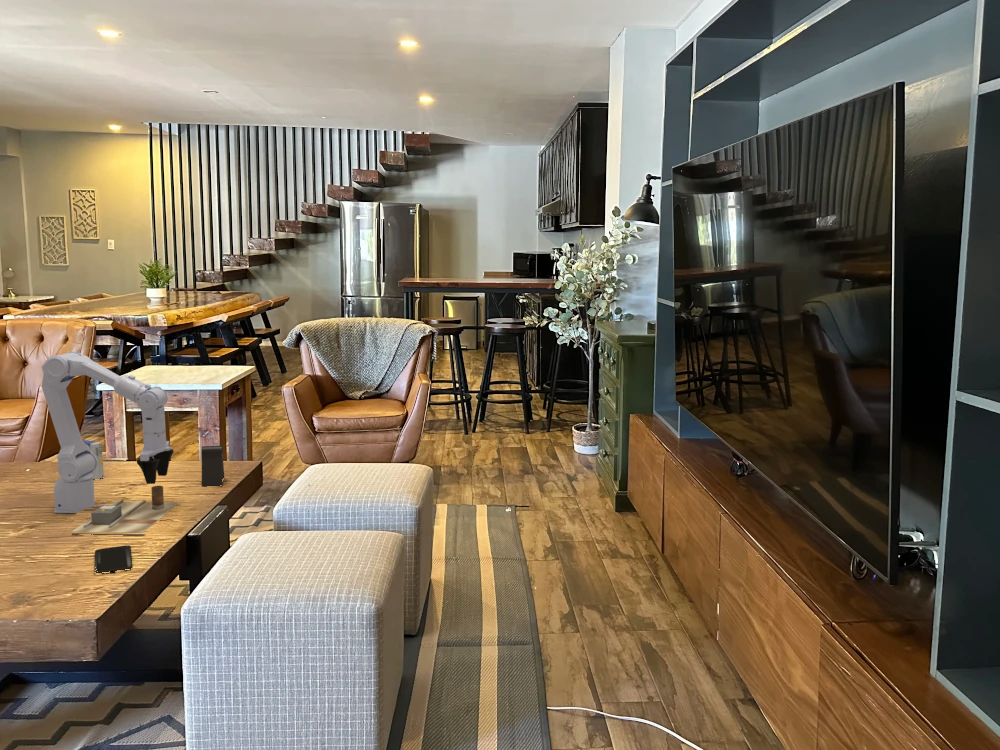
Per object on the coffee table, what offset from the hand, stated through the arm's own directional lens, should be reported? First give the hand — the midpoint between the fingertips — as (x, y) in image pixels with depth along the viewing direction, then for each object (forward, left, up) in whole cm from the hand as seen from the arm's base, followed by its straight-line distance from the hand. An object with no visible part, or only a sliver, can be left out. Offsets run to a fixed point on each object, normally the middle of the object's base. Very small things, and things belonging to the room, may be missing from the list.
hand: (156, 479), depth 214 cm
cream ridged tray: (-5, -7, -9) cm, 13 cm away
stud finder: (-9, -11, -8) cm, 16 cm away
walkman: (-34, +31, -10) cm, 47 cm away
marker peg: (0, 0, -8) cm, 8 cm away
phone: (+4, -35, -10) cm, 37 cm away
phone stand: (+6, +27, -10) cm, 29 cm away
